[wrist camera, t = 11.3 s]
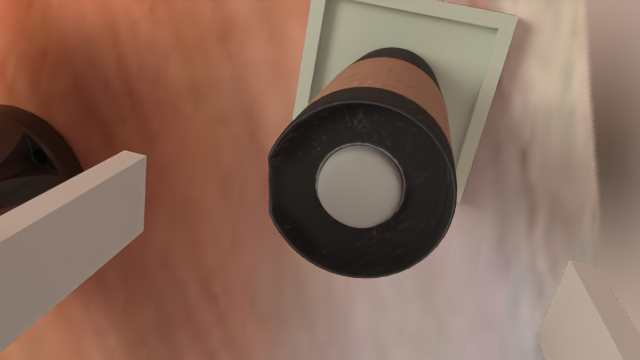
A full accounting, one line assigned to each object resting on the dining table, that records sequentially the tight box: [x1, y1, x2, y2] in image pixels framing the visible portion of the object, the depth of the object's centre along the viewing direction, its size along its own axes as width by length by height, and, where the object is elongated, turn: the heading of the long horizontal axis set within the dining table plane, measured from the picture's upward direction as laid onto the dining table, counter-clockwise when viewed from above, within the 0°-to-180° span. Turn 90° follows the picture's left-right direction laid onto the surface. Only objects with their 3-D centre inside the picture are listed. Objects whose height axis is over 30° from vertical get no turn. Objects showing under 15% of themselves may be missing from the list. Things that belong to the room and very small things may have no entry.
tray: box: [292, 0, 519, 204], centre depth 37 cm, size 14×14×2 cm
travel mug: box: [268, 47, 457, 278], centre depth 28 cm, size 8×8×20 cm
